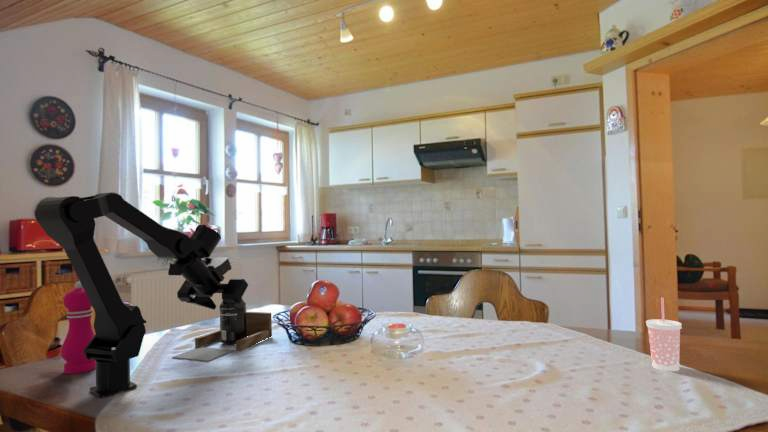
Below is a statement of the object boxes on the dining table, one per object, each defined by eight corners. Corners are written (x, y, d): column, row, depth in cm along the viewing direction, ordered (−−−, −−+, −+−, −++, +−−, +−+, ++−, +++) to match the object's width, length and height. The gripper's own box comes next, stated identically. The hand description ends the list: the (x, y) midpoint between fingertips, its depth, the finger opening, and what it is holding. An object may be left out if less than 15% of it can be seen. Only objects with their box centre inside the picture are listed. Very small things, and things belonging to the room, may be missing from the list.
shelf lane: (239, 351, 110) (239, 323, 110) (195, 347, 115) (194, 320, 115) (271, 337, 123) (271, 312, 123) (230, 334, 128) (229, 310, 128)
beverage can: (236, 338, 123) (235, 295, 124) (252, 341, 119) (251, 297, 120) (215, 344, 118) (214, 299, 118) (230, 347, 114) (229, 301, 114)
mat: (208, 361, 102) (208, 360, 102) (172, 358, 106) (172, 357, 106) (234, 350, 111) (234, 349, 111) (199, 348, 115) (199, 346, 115)
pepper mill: (80, 375, 95) (78, 283, 96) (52, 374, 97) (51, 283, 97) (107, 365, 102) (105, 279, 103) (81, 364, 104) (79, 279, 104)
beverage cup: (652, 360, 92) (649, 294, 92) (687, 366, 88) (683, 296, 88) (644, 368, 88) (640, 298, 88) (680, 374, 83) (676, 301, 84)
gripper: (242, 247, 109) (270, 284, 120) (184, 248, 116) (215, 283, 126) (220, 283, 102) (252, 320, 112) (160, 282, 108) (195, 317, 119)
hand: (228, 308), depth 117 cm, fingers open, 9 cm apart
